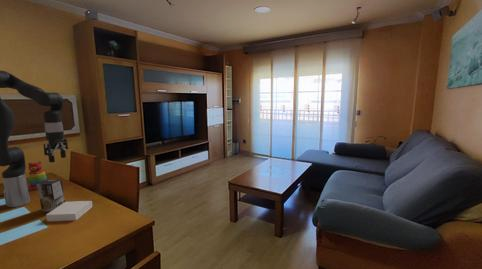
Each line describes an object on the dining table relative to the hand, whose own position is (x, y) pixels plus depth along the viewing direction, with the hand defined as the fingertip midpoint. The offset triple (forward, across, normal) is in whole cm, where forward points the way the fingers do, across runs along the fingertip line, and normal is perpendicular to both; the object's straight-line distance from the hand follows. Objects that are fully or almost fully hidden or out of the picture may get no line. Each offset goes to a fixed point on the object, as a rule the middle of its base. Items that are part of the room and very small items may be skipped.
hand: (58, 159), depth 123 cm
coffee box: (+28, +2, -4) cm, 28 cm away
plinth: (+28, +8, +9) cm, 30 cm away
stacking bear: (+29, -30, -36) cm, 55 cm away
